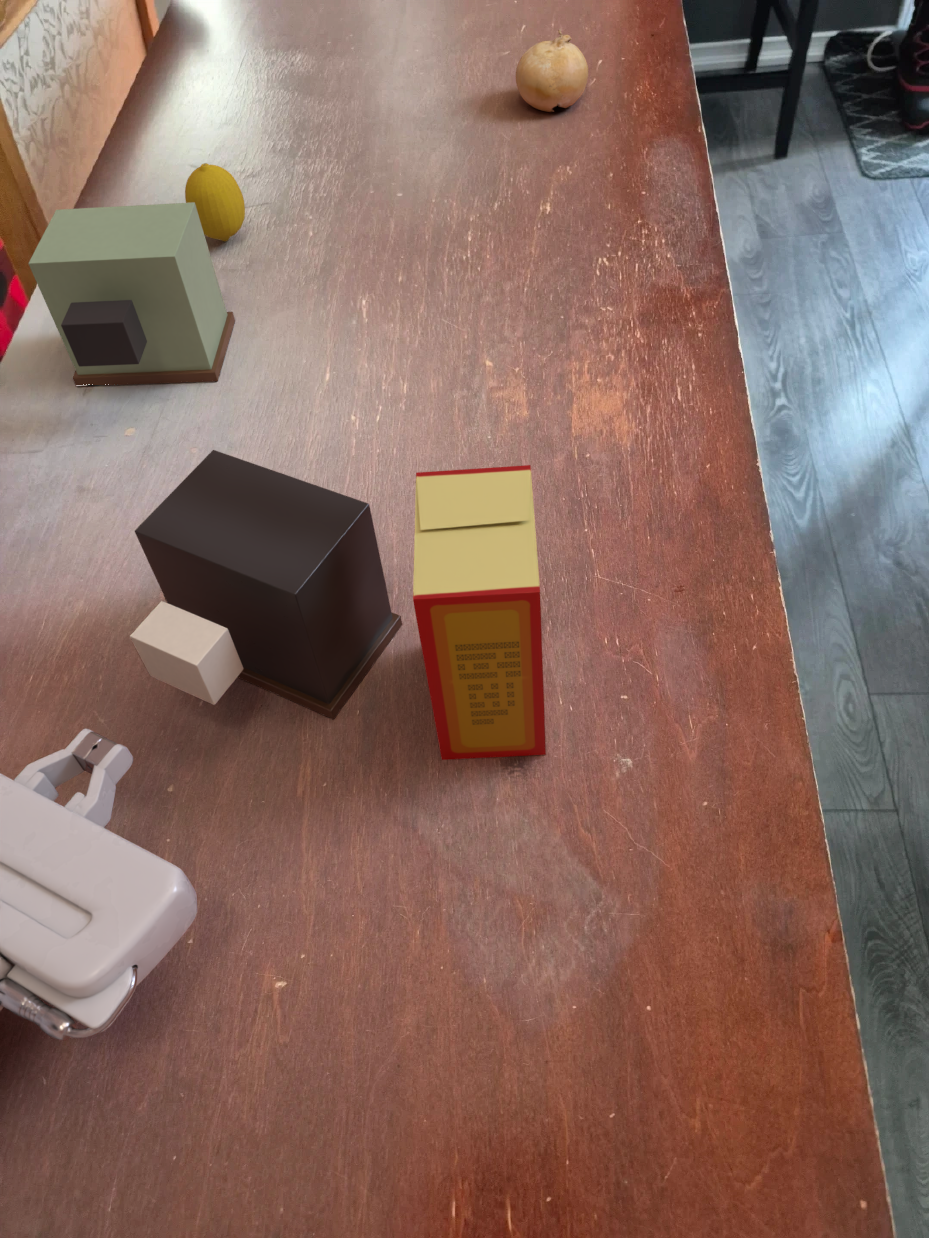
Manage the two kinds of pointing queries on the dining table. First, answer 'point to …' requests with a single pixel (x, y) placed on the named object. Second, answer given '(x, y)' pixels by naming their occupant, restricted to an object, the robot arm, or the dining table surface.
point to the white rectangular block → (187, 652)
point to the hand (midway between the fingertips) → (110, 742)
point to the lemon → (216, 201)
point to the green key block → (139, 287)
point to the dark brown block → (104, 333)
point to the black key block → (276, 576)
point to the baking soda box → (480, 610)
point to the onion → (552, 74)
